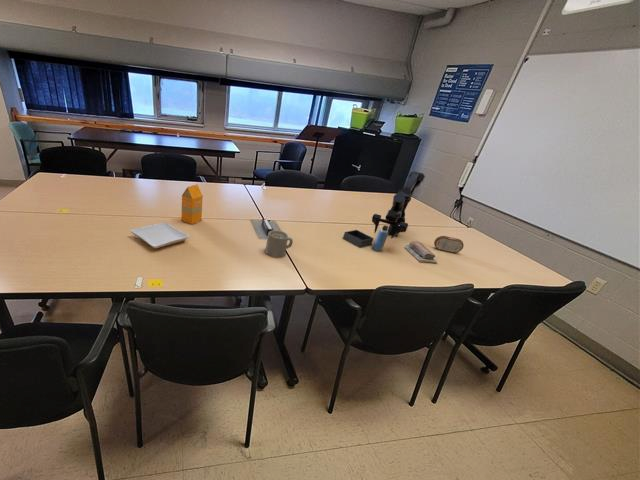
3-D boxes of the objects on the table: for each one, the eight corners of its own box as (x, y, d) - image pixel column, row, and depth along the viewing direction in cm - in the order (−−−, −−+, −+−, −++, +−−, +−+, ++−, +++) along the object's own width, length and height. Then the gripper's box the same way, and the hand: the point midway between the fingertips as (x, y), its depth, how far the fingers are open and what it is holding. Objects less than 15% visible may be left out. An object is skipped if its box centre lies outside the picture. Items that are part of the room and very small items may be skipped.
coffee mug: (267, 256, 154) (270, 238, 149) (263, 247, 162) (266, 229, 157) (293, 258, 156) (297, 239, 151) (288, 249, 165) (292, 231, 159)
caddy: (354, 235, 191) (356, 229, 189) (371, 244, 182) (373, 238, 180) (342, 238, 185) (344, 231, 183) (359, 247, 177) (362, 240, 175)
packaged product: (407, 239, 182) (423, 241, 183) (404, 247, 185) (420, 248, 185) (423, 254, 167) (441, 255, 168) (419, 262, 169) (436, 263, 170)
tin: (458, 252, 187) (465, 240, 182) (459, 255, 184) (467, 242, 180) (431, 246, 190) (437, 233, 186) (432, 248, 188) (438, 235, 183)
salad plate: (190, 241, 158) (190, 235, 157) (154, 252, 145) (154, 246, 143) (165, 227, 170) (165, 221, 168) (129, 236, 156) (129, 229, 154)
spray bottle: (373, 246, 180) (382, 223, 172) (382, 249, 178) (391, 226, 170) (371, 249, 177) (380, 226, 169) (380, 252, 174) (389, 228, 167)
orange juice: (201, 220, 184) (203, 186, 173) (191, 224, 177) (192, 188, 166) (191, 216, 187) (192, 182, 176) (181, 220, 180) (181, 185, 169)
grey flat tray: (259, 238, 172) (260, 231, 170) (251, 220, 192) (252, 213, 190) (285, 239, 175) (286, 232, 172) (274, 221, 195) (275, 215, 193)
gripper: (379, 199, 173) (366, 223, 171) (414, 209, 165) (401, 234, 163) (378, 210, 183) (366, 232, 181) (411, 219, 174) (399, 243, 173)
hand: (382, 235), depth 174 cm, fingers open, 9 cm apart
